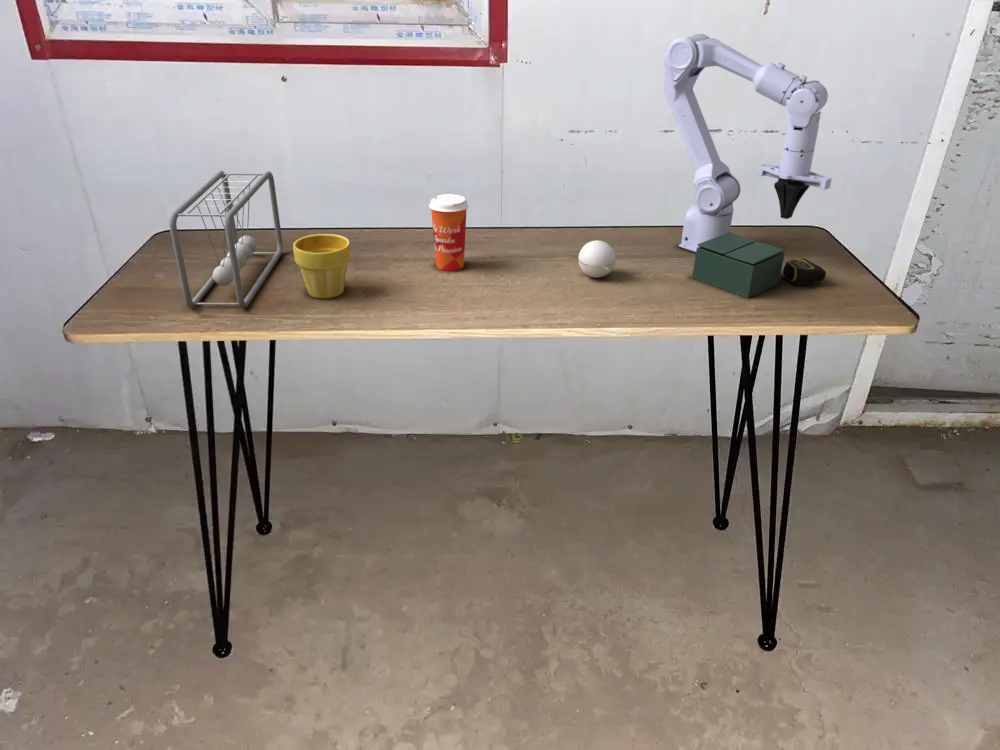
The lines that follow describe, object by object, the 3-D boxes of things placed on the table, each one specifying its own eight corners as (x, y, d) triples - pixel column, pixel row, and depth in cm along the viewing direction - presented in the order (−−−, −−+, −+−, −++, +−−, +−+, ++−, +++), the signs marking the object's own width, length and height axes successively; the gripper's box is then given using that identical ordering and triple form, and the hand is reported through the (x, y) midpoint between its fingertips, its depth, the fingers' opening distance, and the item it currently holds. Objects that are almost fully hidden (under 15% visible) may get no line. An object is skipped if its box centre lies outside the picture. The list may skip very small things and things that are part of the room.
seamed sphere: (573, 269, 158) (576, 235, 154) (609, 269, 158) (612, 234, 155) (582, 289, 149) (584, 253, 146) (620, 288, 150) (623, 252, 146)
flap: (784, 251, 149) (785, 249, 149) (753, 264, 143) (754, 262, 143) (756, 243, 153) (756, 241, 153) (725, 255, 147) (725, 254, 147)
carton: (778, 283, 153) (785, 249, 149) (747, 298, 147) (754, 262, 143) (723, 264, 161) (728, 232, 157) (692, 278, 155) (697, 244, 151)
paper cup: (424, 269, 157) (422, 202, 150) (441, 256, 163) (439, 191, 156) (459, 275, 154) (458, 207, 147) (475, 262, 161) (475, 196, 154)
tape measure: (825, 286, 152) (829, 268, 150) (795, 289, 150) (799, 271, 148) (803, 273, 158) (807, 255, 156) (774, 276, 156) (778, 259, 154)
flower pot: (363, 285, 150) (359, 236, 145) (337, 306, 141) (332, 255, 136) (317, 277, 153) (311, 230, 148) (288, 298, 144) (281, 248, 139)
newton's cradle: (244, 312, 139) (228, 216, 130) (186, 312, 138) (166, 216, 130) (284, 251, 165) (273, 168, 156) (235, 251, 164) (220, 167, 156)
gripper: (753, 145, 152) (743, 213, 158) (823, 159, 142) (809, 230, 149) (773, 140, 156) (762, 206, 162) (842, 152, 146) (827, 222, 153)
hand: (786, 217), depth 156 cm, fingers closed
